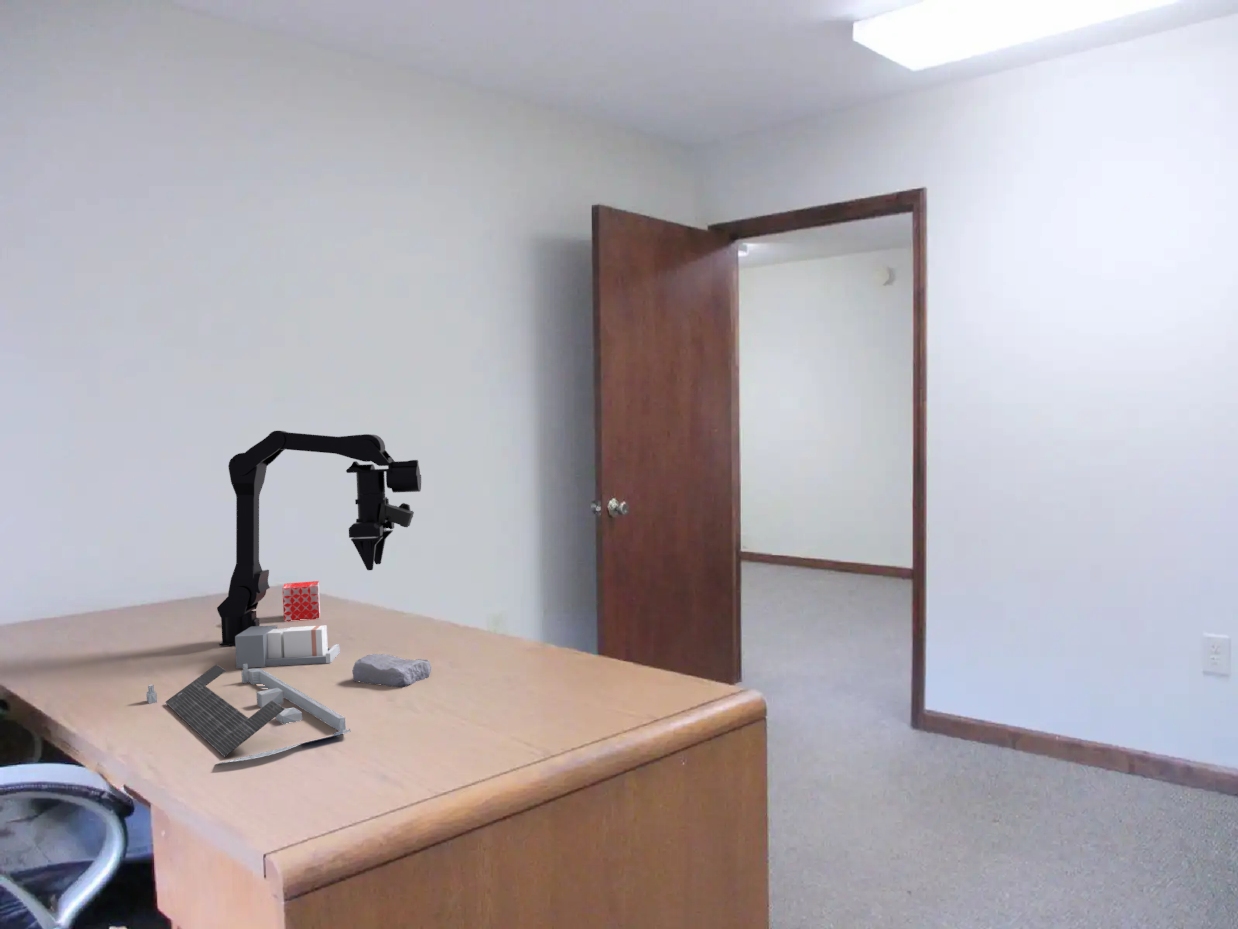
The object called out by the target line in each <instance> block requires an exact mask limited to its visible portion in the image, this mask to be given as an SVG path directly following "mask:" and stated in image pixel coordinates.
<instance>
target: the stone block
mask: <svg viewBox="0 0 1238 929" xmlns="http://www.w3.org/2000/svg"><path fill="white" fill-rule="evenodd" d="M431 672H432V666H431V662H430V660H429V659H422V658H417V659H408V658H406V659H404V658H401V657H398V656H395V655H390V654H385V653H372V654H366V655H365V656H363V657H361V658H359V659H357V660H356V661H355V663H354V665H353V667H352V679H353V681H354V682H355V681H360V682H359V683H361V682H364V683H363V684H369V683H371V685H376V684H381V685H380V686H384V685H386V686H385V687H391V686H393V687H392V688H396V687H397V688H398V687H400V688H404V687H405V686H406V687H407V686H410V685H409V684H411V685H413V684H415V683H416V681H417V682H419V681H423V680H425V678H426V679H428V678H429V677H430V675H431Z"/></svg>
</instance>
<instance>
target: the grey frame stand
mask: <svg viewBox="0 0 1238 929" xmlns="http://www.w3.org/2000/svg"><path fill="white" fill-rule="evenodd" d="M286 629H287V628H284V627H283V628H278V624H275V625H260V626H251V627H249V628H248V629H246V630H245V631H243V632H241V633H240V634H238V635H237V636H235V645H234V646H235V664H236V665H235V666H236V669H237V668H242V669H243V664H248V669H251V668H250V667H261V668H266V667H277V666H299V665H315V664H317V665H319V664H331V663H332V662H333V661H334V660H335V659H336V658H337V657H338V656H339V655H340V652H341V651H340V644H339V643H338V644H337V643H336V644H334V645H332V647H328V652H327V653H326V656H308V657H289V658H285V654H284V633H283V632H284V631H285V630H286ZM338 654H339V655H338ZM337 655H338V656H337ZM335 657H336V658H335Z"/></svg>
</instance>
